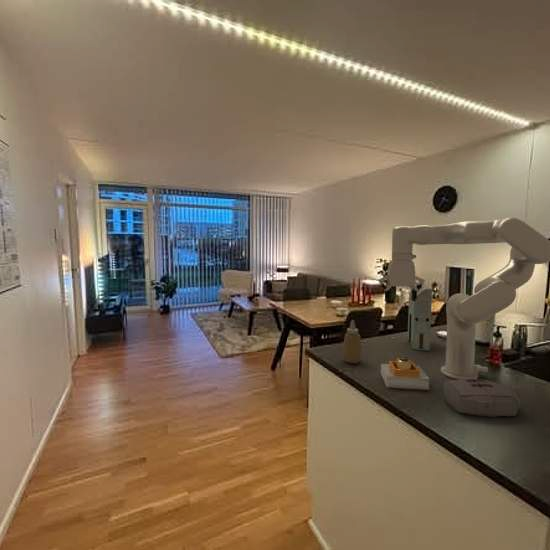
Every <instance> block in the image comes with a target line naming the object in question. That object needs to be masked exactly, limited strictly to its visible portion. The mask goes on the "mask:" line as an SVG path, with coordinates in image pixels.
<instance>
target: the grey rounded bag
mask: <svg viewBox="0 0 550 550" xmlns="http://www.w3.org/2000/svg"><path fill="white" fill-rule="evenodd" d="M442 391H443V396H444V398H445V400H446V402H447V404H448V406H450V407H451V408H452V409H453V410H454V411H455V412H457V413H460V414H463V415H464V414H465V415H471V416H474V415H477V417H485V416H489V417H488V418H497V417H496V416H507V417H516V416H517V414H518V412H519V409H520V407H521V406H522V402H521V399H520V397H519V396H518V394H517V393H516V392H515V391H513V390H511V388H509V387H507V386H505V385H503V384H501V383H498V382H495V381H491V380H486V379H480V378H479V379H478V378H477V379H452V380H450V379H449V380H445V381H444V383H443V387H442Z"/></svg>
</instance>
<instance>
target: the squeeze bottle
mask: <svg viewBox="0 0 550 550" xmlns="http://www.w3.org/2000/svg"><path fill="white" fill-rule="evenodd" d="M361 339H362V338H361V335H360V334H359V329H358V328H356V324H355V320H351V321H350V325H349V327H348V328H347V329H346V333H345V334H344V339H343V347H342V355H343V357H344V360H345V362H347V363H349V364H358V363H359V362H360V360H361V357H362V355H363V352H362V351H363V350H362V341H361Z"/></svg>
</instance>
